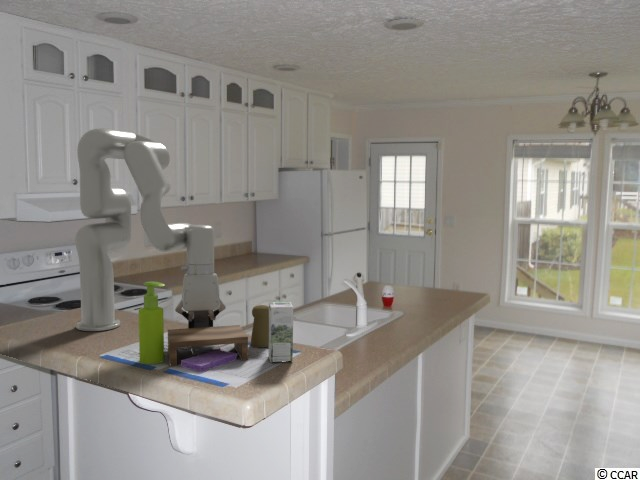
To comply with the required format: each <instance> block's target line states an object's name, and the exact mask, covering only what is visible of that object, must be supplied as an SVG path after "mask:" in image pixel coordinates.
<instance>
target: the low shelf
mask: <svg viewBox="0 0 640 480" xmlns="http://www.w3.org/2000/svg"><path fill="white" fill-rule="evenodd" d="M209 345H219V346H220V345H221V346H222V345H234V346H233V348H234V349H235V350H236V352H237V355H238V356H239V358H240V359H241V361H248V360H249V336H248V335H247V334H246V332H245V331H244V329H243V328H242V326H241V325H240V324H238V325H237V324H236V325H235V324H234V325H233V324H232V325H219V326H218V325H217V326H213V327H202V328H188V327H187V328H176V329H175V328H174V329H167V353H168V354H167V355H168V359H169V365H170V367H176V366H178V360H177V359H178V358H177V357H178V354H177V353H178V349H181V348H190V347H196V346H209Z"/></svg>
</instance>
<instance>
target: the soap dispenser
mask: <svg viewBox="0 0 640 480" xmlns="http://www.w3.org/2000/svg"><path fill="white" fill-rule="evenodd" d="M143 286H146V293H145V295H144V294H143V307H141V308H139V309H138V336H139V337H138V341H139V342H138V343H139V344H138V345H139V346H138V347H139V363H141V364H142V365H143V364H144V365H155V364H160V363H162V362H164V361H165V343H164V342H165V340H164V339H165V337H164V335H165V331H164V329H165V328H164V308H163V307H160V306H159V295H158V294H156V293H155V287H156V288H162V287H165V286H166V285H165V283H163V282H160V281H145V282H143Z"/></svg>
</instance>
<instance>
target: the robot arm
mask: <svg viewBox="0 0 640 480" xmlns="http://www.w3.org/2000/svg"><path fill="white" fill-rule="evenodd" d="M76 149H77V150H76V151H77V161H78V167H79V202H80V203H79V204H80V205H79V206H80V211H81V214H82V215H83V216H84V217H86V218H88V219H93V220H96V219H98V220H99V219H105V222H93V223H88V224H85V225H83V226H82V227H80V228H79V229H78V230H77V232H76V233H75V238H74V243H75V248H76V252H77V255H78V256H77V257H78V265H79V282H80V283H79V284H80V285H79V286H80V309H81V310H80V312H81V314H80V317H81V320H80V321H79V322H77V323H76V324H75V328H76V329H77V330H79V331H82V332H101V331H107V330H108V331H109V330H112V329H116V328H119V326H120V325H121V320H120V319H118V318H115V317H116V316H115V315H116V313H115V312H116V311H115V307H116V306H115V284H114V283H115V280H114V279H115V277H114V275H115V274H114V273H115V272H114V266H113V263H112V261H111V258H110V256H109V254H110V253H111V254H112V253H117V252H121V251H124V250H126V249H127V248H128V247H129V246H130V243H131V239H132V202H131V199H130V196H129V195H128V193H127V191H126V190H124V189H123V188H121V187H117V186H111V185H112V183H111V177H112V175H111V171H110V168H109V166H108V164H107V162H106V159H115V160H124V162H125V164H126V167H128V170H129V172H130V175H131V176H132V178H133V181H134V184H135V185H136V187H137V189H138V191H139V193H140V196H141V203H140V222H141V225H142V228H143V230H144V233H145V234H146V236H147V238H148V241H149V242H150V244H151V245H152V247H154V248H155V249H156V250H158V251H159V252H163V253H167V252H173V251H178V250H179V251H180V250H185V249H186V264H185V265H181V269H180V270H181V271H182V272H185V274H184V275H183V281H182V289H181V299H180V301H179V303H178V304H177V305H176V306H175V308H174V311H175V312H176V313H178V314H180V315H181V316H183V317H184V318H185V319H186V320H187V324H188V325H187V328H194V321H193V313H194V311H209V327H214V320H215V319H216V318H217V316H218V315H220V313H222V312H223V311H225V309H227V308H226V305H225V304H224V302H223V301H222V300H221V297H220V286H219V285H220V284H219V277H218V274H217V273H215V229H214V227H213V226H211V225H207V224H191V223H188V222H177V223H176V222H174V223H168V222H167V220H166V218H165V216H164V214H163V210H162V199H163V197H165V196H166V195H167V194H168V193H169V192H170V191H171V184H170V181H169V179H168V177H167V176H166V173H165V171H164V170H165V169H167V168H168V166H169V164H170V162H171V157H170V152H169V150H168V149H167V148H166V146H165V145H163V144H162V143H161V142H158V141H157V140H153V139H151V138H148V137H145V136H143V135H141V134H138V133H136V132H132V131H127V130H121V129H120V130H119V129H115V128H113V129H112V128H103V127H102V128H99V127H98V128H92V129H90V130H88V131H87V132H85V133H83V135H82V136H81V137H80V139H79V141H78V144H77V148H76Z"/></svg>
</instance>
